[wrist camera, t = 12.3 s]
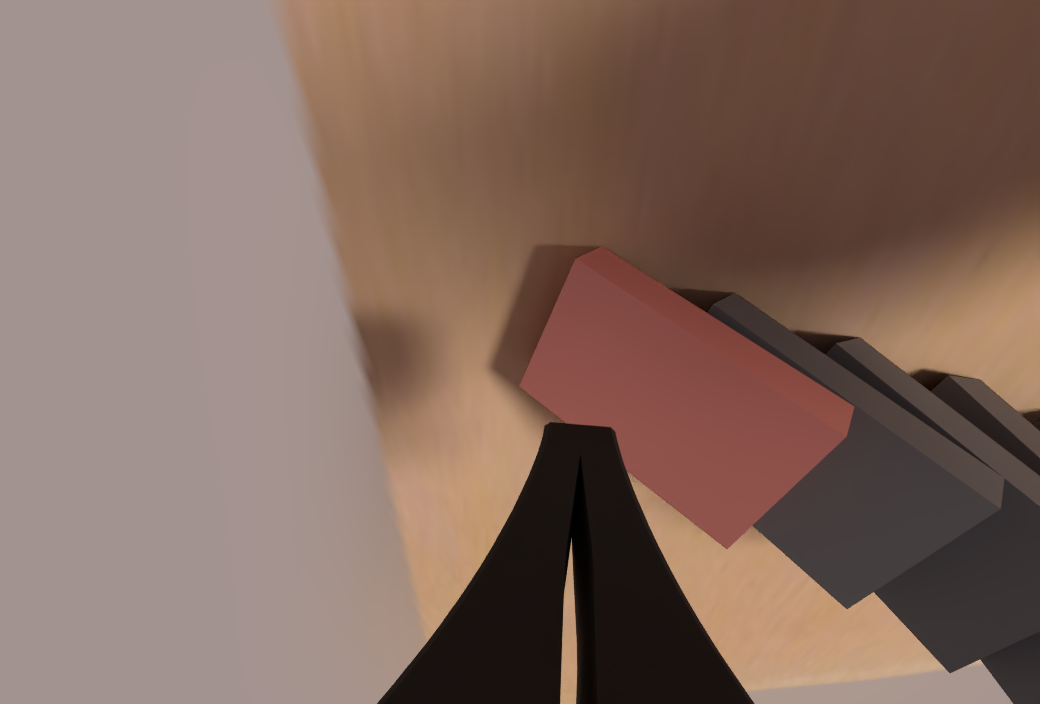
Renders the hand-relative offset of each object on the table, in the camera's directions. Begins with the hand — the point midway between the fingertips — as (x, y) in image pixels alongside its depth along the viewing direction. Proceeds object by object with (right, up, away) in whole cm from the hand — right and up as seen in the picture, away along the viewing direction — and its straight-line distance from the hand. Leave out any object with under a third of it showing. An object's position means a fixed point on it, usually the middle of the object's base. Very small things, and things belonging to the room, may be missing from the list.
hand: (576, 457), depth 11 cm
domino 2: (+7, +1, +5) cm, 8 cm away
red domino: (0, +3, +4) cm, 5 cm away
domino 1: (+3, +2, +4) cm, 6 cm away
